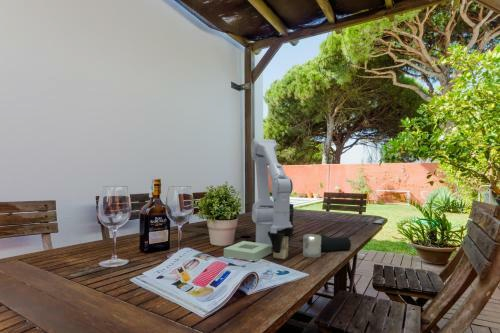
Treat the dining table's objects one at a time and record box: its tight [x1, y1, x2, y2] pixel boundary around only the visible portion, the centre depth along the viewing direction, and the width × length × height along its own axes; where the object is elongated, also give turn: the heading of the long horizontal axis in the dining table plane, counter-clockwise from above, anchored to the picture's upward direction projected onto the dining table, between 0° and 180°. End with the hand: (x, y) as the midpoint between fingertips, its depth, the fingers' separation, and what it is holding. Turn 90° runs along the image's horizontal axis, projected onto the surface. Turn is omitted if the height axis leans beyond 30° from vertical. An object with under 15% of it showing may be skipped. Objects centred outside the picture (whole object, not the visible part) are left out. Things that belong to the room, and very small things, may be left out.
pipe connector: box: [315, 233, 352, 253], centre depth 121 cm, size 12×5×15 cm
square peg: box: [272, 236, 289, 260], centre depth 107 cm, size 4×4×7 cm
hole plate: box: [223, 240, 272, 261], centre depth 109 cm, size 14×12×3 cm
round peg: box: [302, 233, 322, 259], centre depth 110 cm, size 6×6×7 cm
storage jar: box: [289, 203, 295, 238], centre depth 144 cm, size 10×10×15 cm
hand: (280, 250), depth 107 cm, fingers open, 7 cm apart
